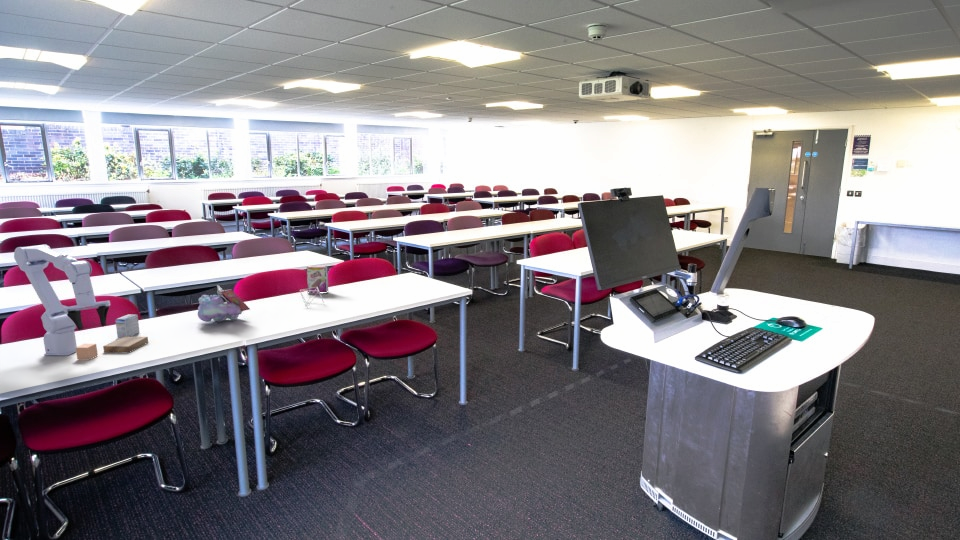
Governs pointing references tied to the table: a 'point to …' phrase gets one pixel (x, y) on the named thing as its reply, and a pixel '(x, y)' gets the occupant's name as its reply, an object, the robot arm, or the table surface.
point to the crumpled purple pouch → (221, 306)
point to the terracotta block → (86, 351)
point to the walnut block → (125, 344)
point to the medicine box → (127, 325)
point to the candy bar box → (317, 278)
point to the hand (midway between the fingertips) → (92, 327)
